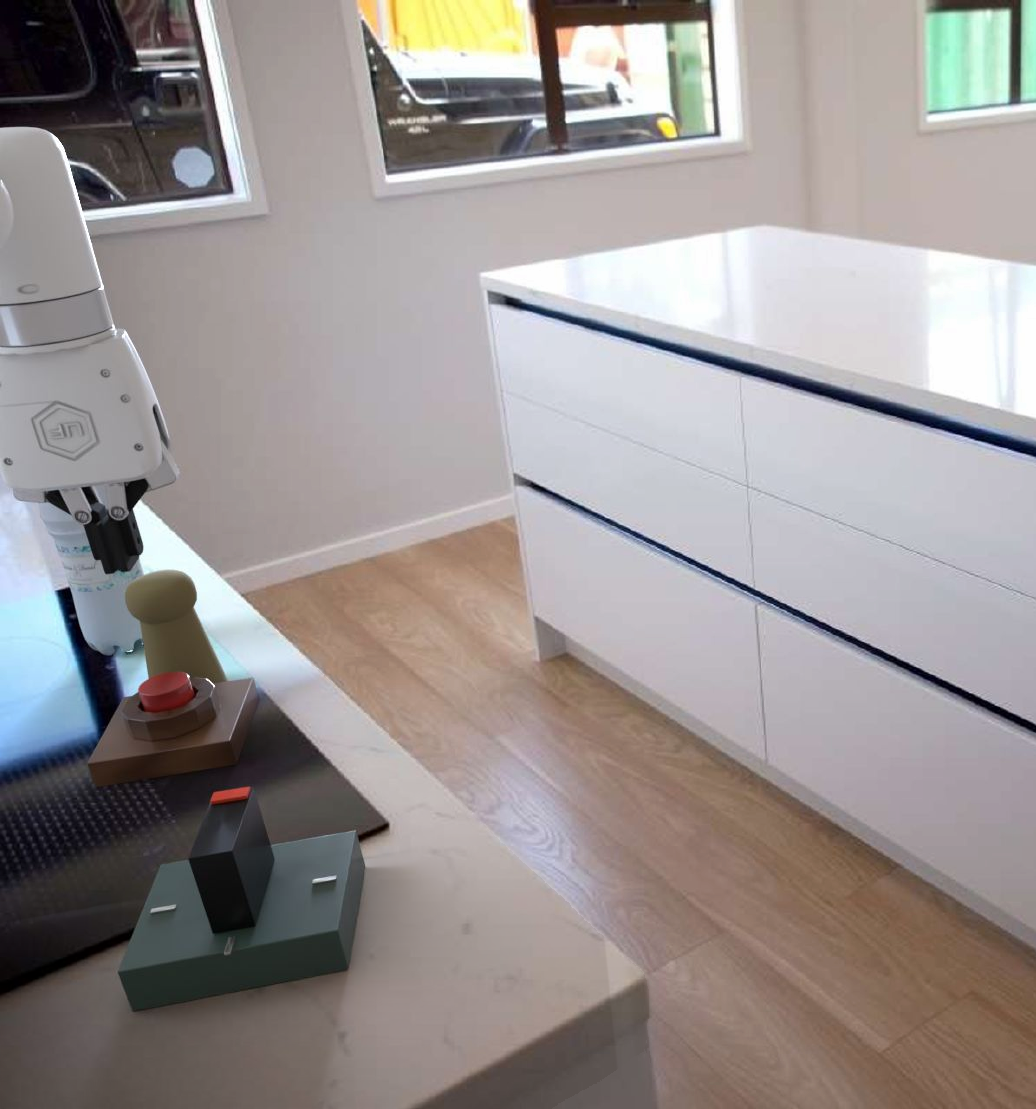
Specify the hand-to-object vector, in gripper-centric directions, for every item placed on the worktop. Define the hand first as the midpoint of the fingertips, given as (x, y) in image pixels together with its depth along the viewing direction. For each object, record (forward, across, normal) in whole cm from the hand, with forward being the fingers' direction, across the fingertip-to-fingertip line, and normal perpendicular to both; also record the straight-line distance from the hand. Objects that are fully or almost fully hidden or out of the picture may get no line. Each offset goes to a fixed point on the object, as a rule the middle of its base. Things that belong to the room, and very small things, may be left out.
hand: (123, 565), depth 93 cm
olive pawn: (+16, -1, +8) cm, 18 cm away
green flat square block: (+16, +10, -26) cm, 32 cm away
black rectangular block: (+13, +10, -26) cm, 30 cm away
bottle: (+16, -9, +20) cm, 27 cm away
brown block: (+15, 0, 0) cm, 16 cm away
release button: (+12, 0, 0) cm, 12 cm away
